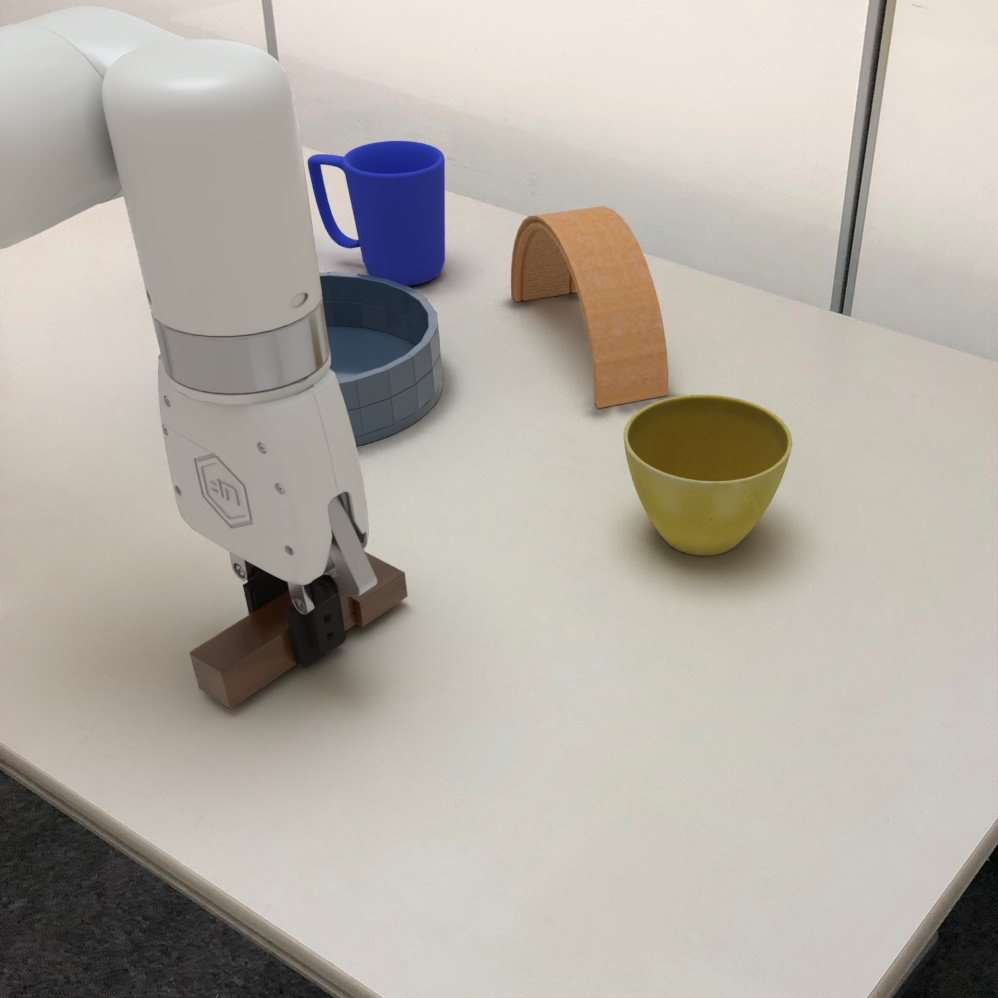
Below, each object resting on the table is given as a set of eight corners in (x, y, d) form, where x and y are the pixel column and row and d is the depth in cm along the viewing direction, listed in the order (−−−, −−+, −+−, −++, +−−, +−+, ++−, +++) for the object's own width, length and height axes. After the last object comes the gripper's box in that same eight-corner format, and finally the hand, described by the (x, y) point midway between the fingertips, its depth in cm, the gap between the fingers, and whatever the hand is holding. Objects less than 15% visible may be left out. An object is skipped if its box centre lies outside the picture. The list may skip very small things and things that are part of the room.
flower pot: (738, 601, 74) (747, 499, 70) (592, 550, 78) (592, 450, 74) (806, 517, 81) (818, 420, 77) (668, 474, 85) (672, 379, 80)
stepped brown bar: (192, 685, 67) (182, 648, 65) (364, 573, 75) (359, 537, 73) (237, 713, 65) (228, 676, 64) (408, 596, 73) (404, 560, 72)
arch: (576, 287, 107) (574, 169, 101) (668, 395, 93) (673, 266, 87) (511, 296, 106) (505, 177, 99) (595, 408, 92) (595, 278, 85)
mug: (348, 242, 114) (332, 129, 107) (469, 263, 111) (461, 147, 104) (300, 278, 108) (281, 160, 101) (426, 300, 105) (415, 180, 98)
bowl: (135, 398, 91) (118, 334, 88) (324, 311, 103) (315, 252, 100) (309, 483, 83) (298, 416, 80) (494, 378, 95) (490, 316, 92)
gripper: (66, 314, 59) (152, 617, 71) (303, 427, 52) (354, 742, 64) (196, 264, 64) (256, 556, 76) (429, 361, 57) (454, 666, 69)
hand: (300, 639), depth 70 cm, fingers closed on stepped brown bar, 2 cm apart
